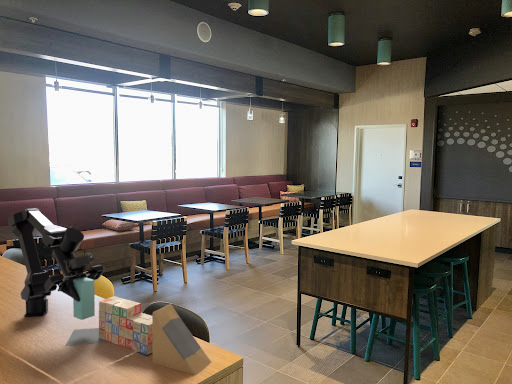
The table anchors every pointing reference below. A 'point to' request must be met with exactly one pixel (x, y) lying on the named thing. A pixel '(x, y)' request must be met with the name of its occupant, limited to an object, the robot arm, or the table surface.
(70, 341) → the charcoal mat
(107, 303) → the stack of blocks
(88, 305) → the teal block
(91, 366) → the table surface
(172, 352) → the sandwich container
